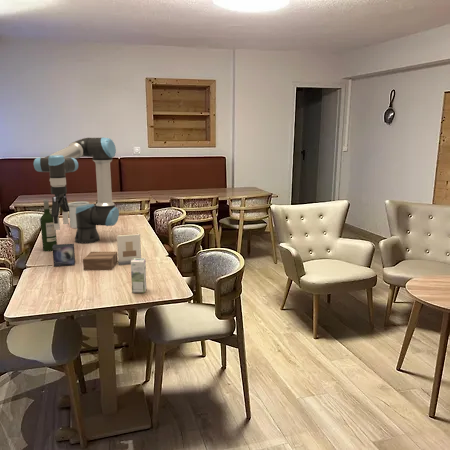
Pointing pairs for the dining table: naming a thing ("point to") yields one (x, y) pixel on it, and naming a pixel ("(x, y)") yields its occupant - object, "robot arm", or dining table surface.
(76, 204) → the utensil holder
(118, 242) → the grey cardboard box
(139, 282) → the syrup box
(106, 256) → the walnut block
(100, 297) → the dining table surface
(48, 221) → the wine bottle
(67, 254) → the small box
